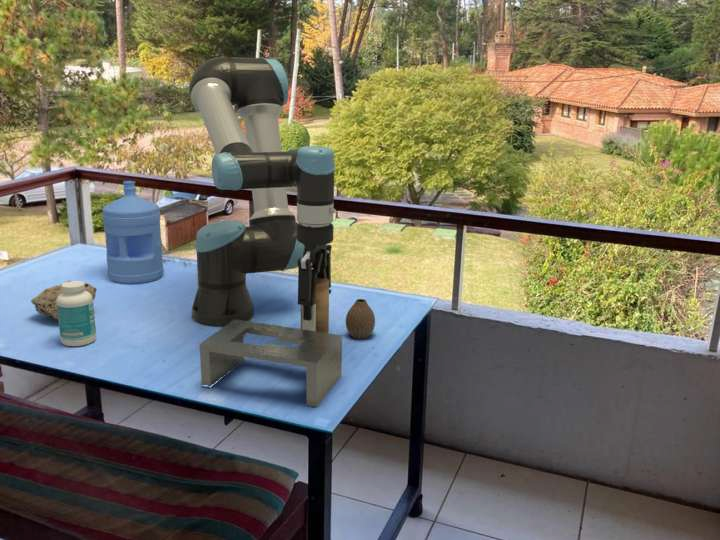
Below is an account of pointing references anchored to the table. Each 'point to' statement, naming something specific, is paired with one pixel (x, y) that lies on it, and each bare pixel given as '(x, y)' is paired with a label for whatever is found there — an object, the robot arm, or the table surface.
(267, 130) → the robot arm
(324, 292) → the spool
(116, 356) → the table surface
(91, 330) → the pill bottle
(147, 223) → the water jug
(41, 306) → the pumice stone
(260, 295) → the table surface
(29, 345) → the table surface
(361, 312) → the vase
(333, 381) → the keyhole plate
